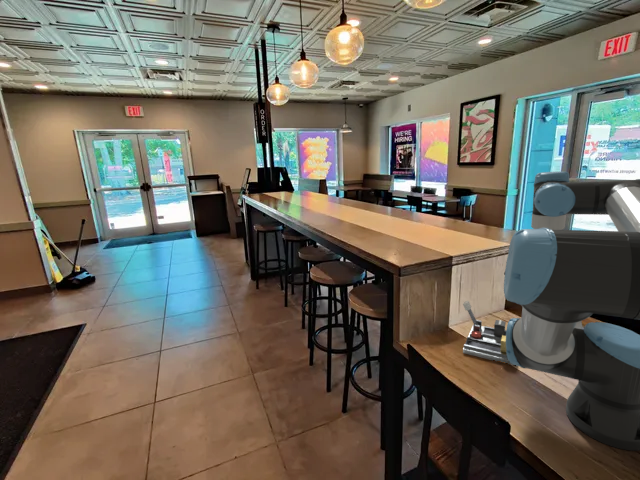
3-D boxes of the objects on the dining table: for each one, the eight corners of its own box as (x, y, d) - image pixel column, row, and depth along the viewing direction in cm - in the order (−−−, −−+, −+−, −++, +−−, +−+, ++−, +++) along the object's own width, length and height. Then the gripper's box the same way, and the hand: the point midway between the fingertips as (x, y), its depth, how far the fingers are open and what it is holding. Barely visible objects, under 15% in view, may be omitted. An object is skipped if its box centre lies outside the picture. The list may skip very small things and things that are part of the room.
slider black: (503, 337, 108) (504, 325, 107) (493, 335, 109) (494, 323, 108) (504, 333, 111) (505, 320, 109) (495, 331, 112) (495, 319, 111)
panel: (516, 366, 96) (517, 353, 95) (462, 352, 105) (463, 340, 103) (520, 337, 110) (521, 326, 109) (473, 328, 119) (473, 317, 118)
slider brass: (511, 355, 98) (512, 342, 97) (500, 353, 100) (501, 339, 99) (512, 349, 101) (513, 336, 100) (501, 347, 103) (502, 334, 102)
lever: (479, 329, 112) (467, 303, 113) (475, 330, 113) (462, 304, 114) (480, 326, 114) (468, 300, 114) (476, 327, 115) (464, 301, 115)
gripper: (604, 228, 83) (595, 304, 88) (498, 225, 97) (495, 290, 102) (608, 234, 77) (598, 315, 82) (495, 230, 91) (492, 299, 96)
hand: (541, 302), depth 92 cm, fingers open, 12 cm apart
